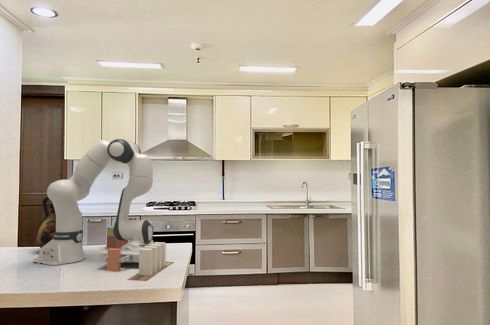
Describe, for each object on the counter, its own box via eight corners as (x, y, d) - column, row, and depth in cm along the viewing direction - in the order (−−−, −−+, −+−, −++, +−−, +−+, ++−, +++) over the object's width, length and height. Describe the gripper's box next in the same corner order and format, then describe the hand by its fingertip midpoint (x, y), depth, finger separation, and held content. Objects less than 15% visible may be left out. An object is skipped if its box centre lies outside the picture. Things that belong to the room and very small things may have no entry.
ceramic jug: (75, 248, 175) (76, 195, 177) (60, 254, 160) (61, 196, 161) (44, 248, 175) (45, 195, 176) (26, 255, 159) (27, 197, 160)
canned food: (120, 244, 184) (120, 224, 184) (132, 247, 177) (132, 226, 178) (102, 248, 174) (102, 226, 175) (113, 251, 168) (114, 228, 168)
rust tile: (118, 274, 128) (118, 249, 128) (107, 273, 128) (107, 249, 129) (120, 273, 129) (120, 248, 130) (109, 272, 130) (109, 248, 130)
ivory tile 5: (150, 275, 122) (150, 249, 122) (138, 274, 123) (139, 249, 123) (152, 274, 123) (152, 248, 124) (141, 273, 124) (141, 248, 125)
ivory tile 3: (159, 269, 130) (159, 245, 130) (148, 268, 131) (148, 244, 131) (161, 268, 131) (161, 244, 132) (150, 267, 132) (150, 244, 133)
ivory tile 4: (155, 272, 126) (155, 247, 126) (143, 271, 127) (144, 247, 127) (157, 271, 127) (157, 246, 128) (145, 270, 128) (146, 246, 129)
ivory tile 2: (163, 266, 134) (164, 243, 134) (153, 266, 134) (153, 243, 135) (165, 265, 135) (165, 242, 136) (154, 265, 136) (155, 242, 137)
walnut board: (126, 282, 117) (126, 279, 117) (158, 263, 142) (158, 261, 142) (146, 284, 115) (146, 280, 115) (174, 264, 141) (174, 261, 141)
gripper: (110, 244, 144) (90, 251, 130) (151, 246, 140) (135, 253, 127) (110, 258, 143) (90, 266, 130) (151, 260, 140) (134, 269, 126)
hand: (112, 260), depth 128 cm, fingers open, 5 cm apart
